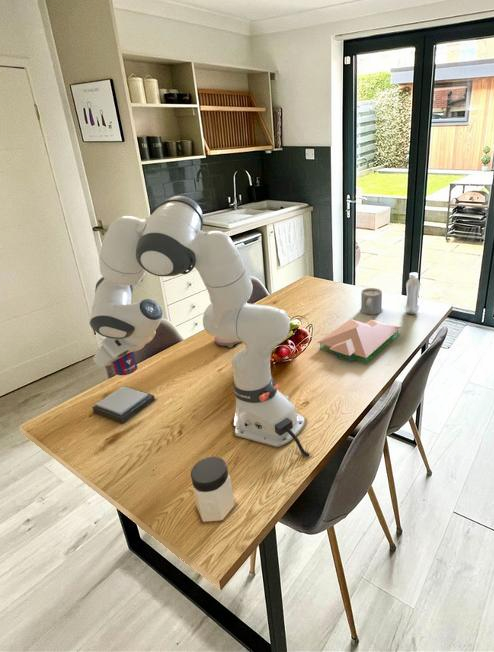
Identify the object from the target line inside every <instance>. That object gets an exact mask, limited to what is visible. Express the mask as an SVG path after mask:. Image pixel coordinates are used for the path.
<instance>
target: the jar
mask: <svg viewBox="0 0 494 652" xmlns="http://www.w3.org/2000/svg"><path fill="white" fill-rule="evenodd" d="M190 482H191V486H192V491H193V495H194V496H193V497H194V500H195V504H196V509H197V511H198V513H199V516H200V518H201V521H202V522H203V523H206V522H218V521H224V520H225V518H226V517H227V516H228V514H229V513H230V512H231V511H232V509H233V508H234V507H235V505H236V504H235V499H234V492H233V487H232V481H231V476H230V474H229V470H228V464H227V462H226V460H224V458H222V457H219V456H209V457H204V458H203V459H200V460H199V461H197V462H196V463H195V464H194V465H193V466H192V469H191V470H190Z"/></svg>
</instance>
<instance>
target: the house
mask: <svg viewBox="0 0 494 652" xmlns="http://www.w3.org/2000/svg"><path fill="white" fill-rule="evenodd" d="M400 329H401V326H398V325H393V324H390V323H386V322H382V321H378V320H374V319H370V320H368V321H367V322H362V321H359V320H354V319H351V318H350V319H349V320H347V321H346V322H344V323H343V324H341V325H340V326H339V327H336V329H334V330H333V331H331V332H330V333H329V334H327V335H326V336H324V337H323V338H322V339H319V341H317V344H319V345H320V350H323V351H326V352H330V353H331V354H335V355H337V356H339V358H340V359H341V360H345V361H347V362H352V361H356V362H359V363H361V364H365V365H366V364H367V363H368V362H369V361H370V360H371V359H373V358H374V356H377V354H378V353H379V352H380V351H382V349H383V346H384V347H385V346H387V345H388V344H389V343H390V342H391V341H393V339H395V338H396V337H397V336H398V335H399V330H400ZM327 349H329V350H327ZM344 356H346V358H349V359H346V358H344ZM352 356H354V358H352ZM355 358H357V359H355ZM363 359H364V361H361V360H363Z"/></svg>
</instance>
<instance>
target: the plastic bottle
mask: <svg viewBox="0 0 494 652" xmlns="http://www.w3.org/2000/svg"><path fill="white" fill-rule="evenodd" d="M418 278H419V273H418V272H410V273H409V279H408V280H407V281H406V283H405V287H406V300H405V304H404V311H405V312H406V314H410V315H411V314H412V315H413V314H417V313H418V312H419V309H420V306H419V294H420V290H421V289H420V288H421V282H420V280H419V279H418Z"/></svg>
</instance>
